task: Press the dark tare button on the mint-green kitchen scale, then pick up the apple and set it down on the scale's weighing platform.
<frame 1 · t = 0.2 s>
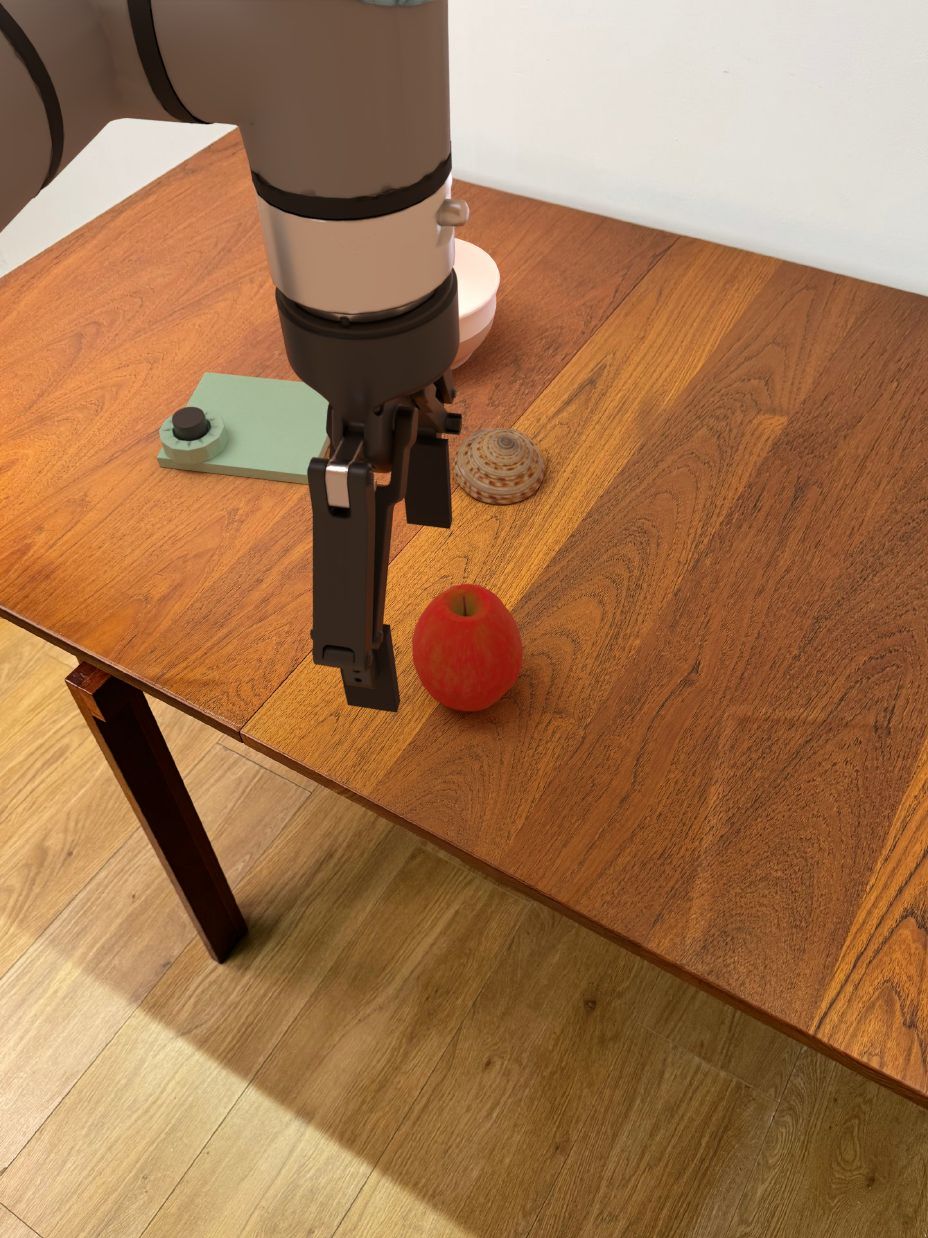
hand: (404, 606, 57), 19 cm above the table, tool pointing down, fingers open, 13 cm apart
apple: (469, 686, 77), on the table
seashell: (497, 473, 92), on the table
bowl: (423, 345, 105), on the table
scale: (257, 430, 97), on the table
tare button: (190, 424, 92), point 3 cm above the table, slide at 0.1 cm
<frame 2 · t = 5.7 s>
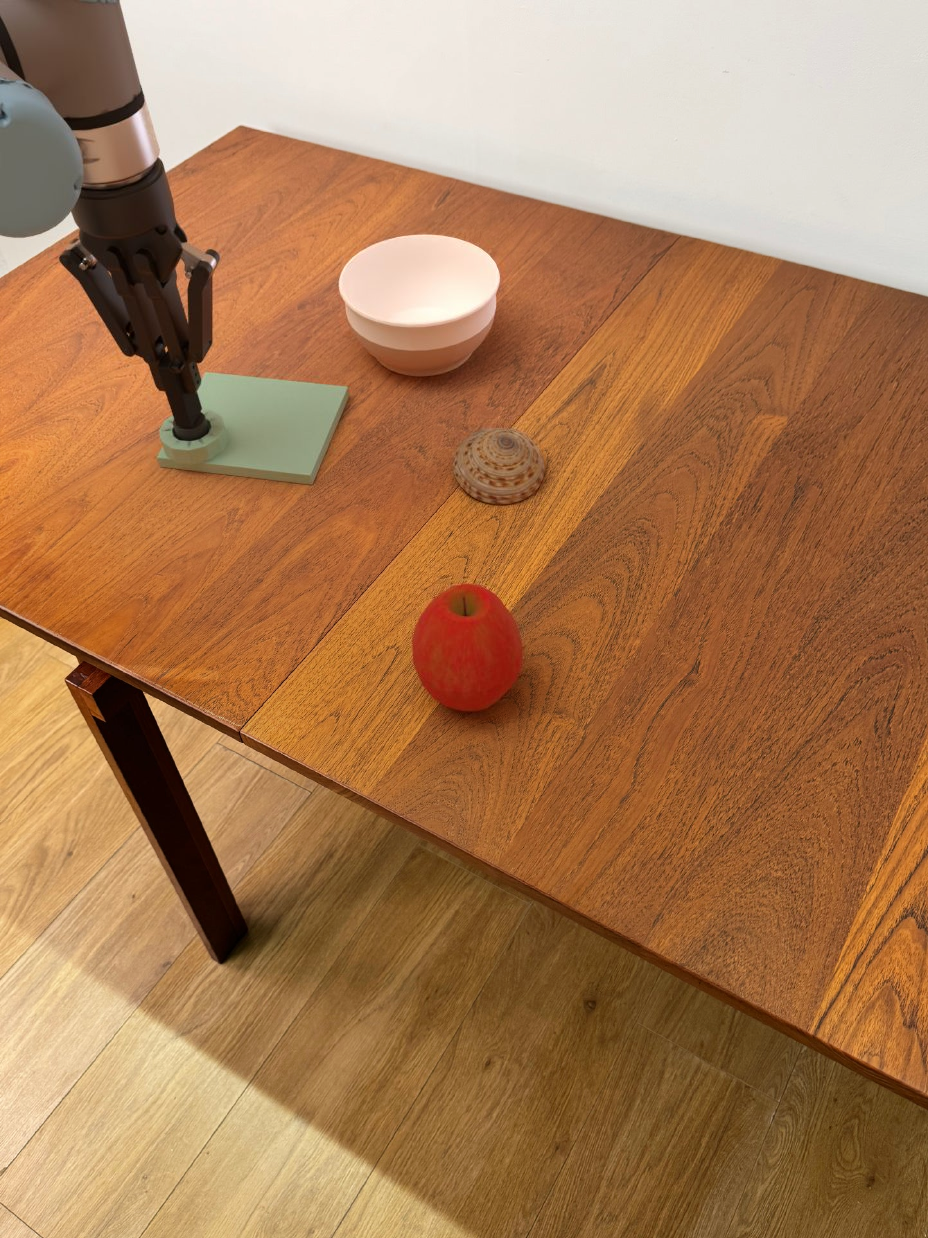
hand: (189, 417, 92), 4 cm above the table, tool pointing down, fingers closed
tare button: (191, 427, 92), point 3 cm above the table, slide at -0.3 cm, touching gripper
everything else where it was.
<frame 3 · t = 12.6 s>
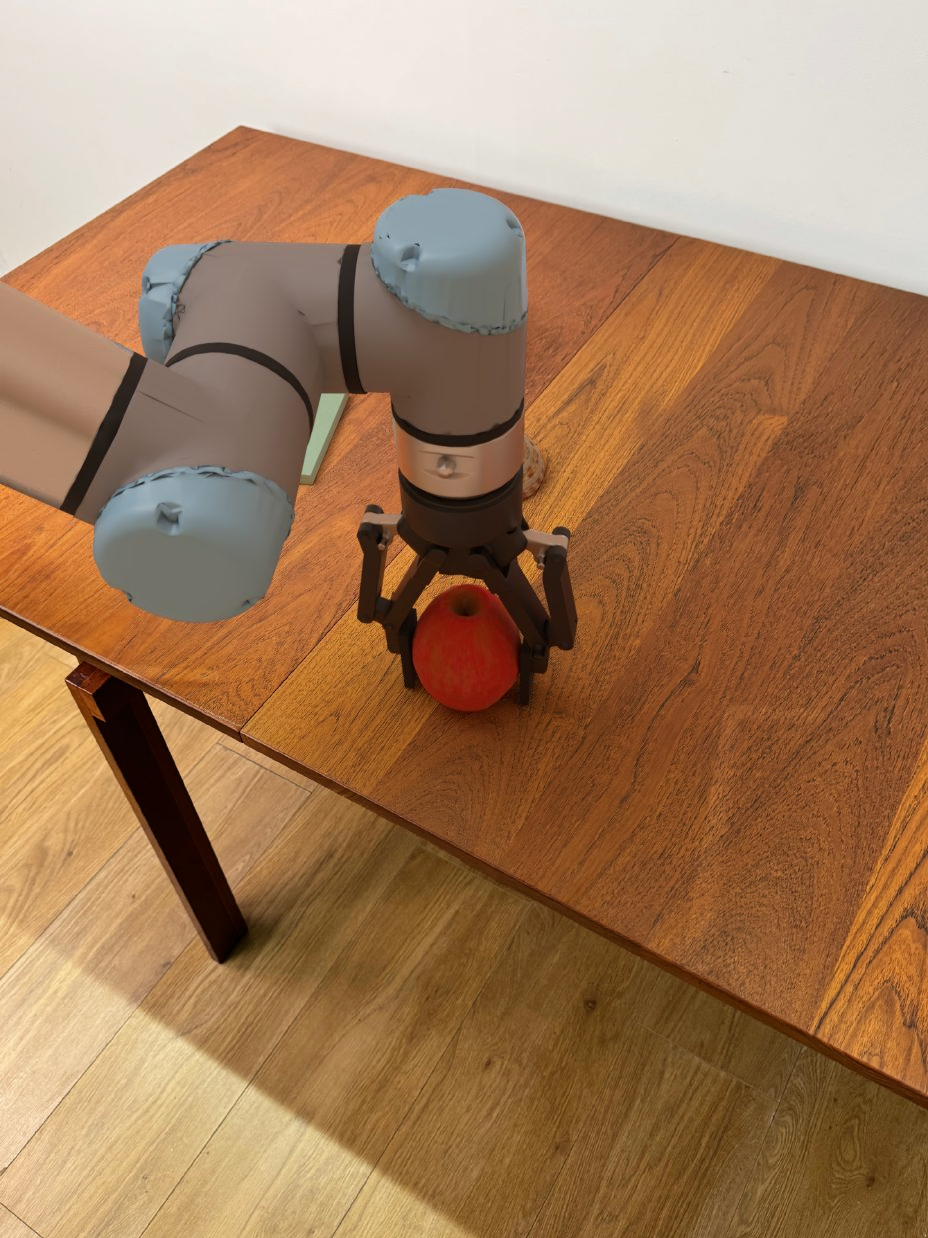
hand: (469, 682, 77), 0 cm above the table, tool pointing down, fingers closed on apple, 8 cm apart
apple: (469, 686, 77), on the table, touching gripper
tare button: (190, 424, 92), point 3 cm above the table, slide at 0.1 cm
everything else where it was.
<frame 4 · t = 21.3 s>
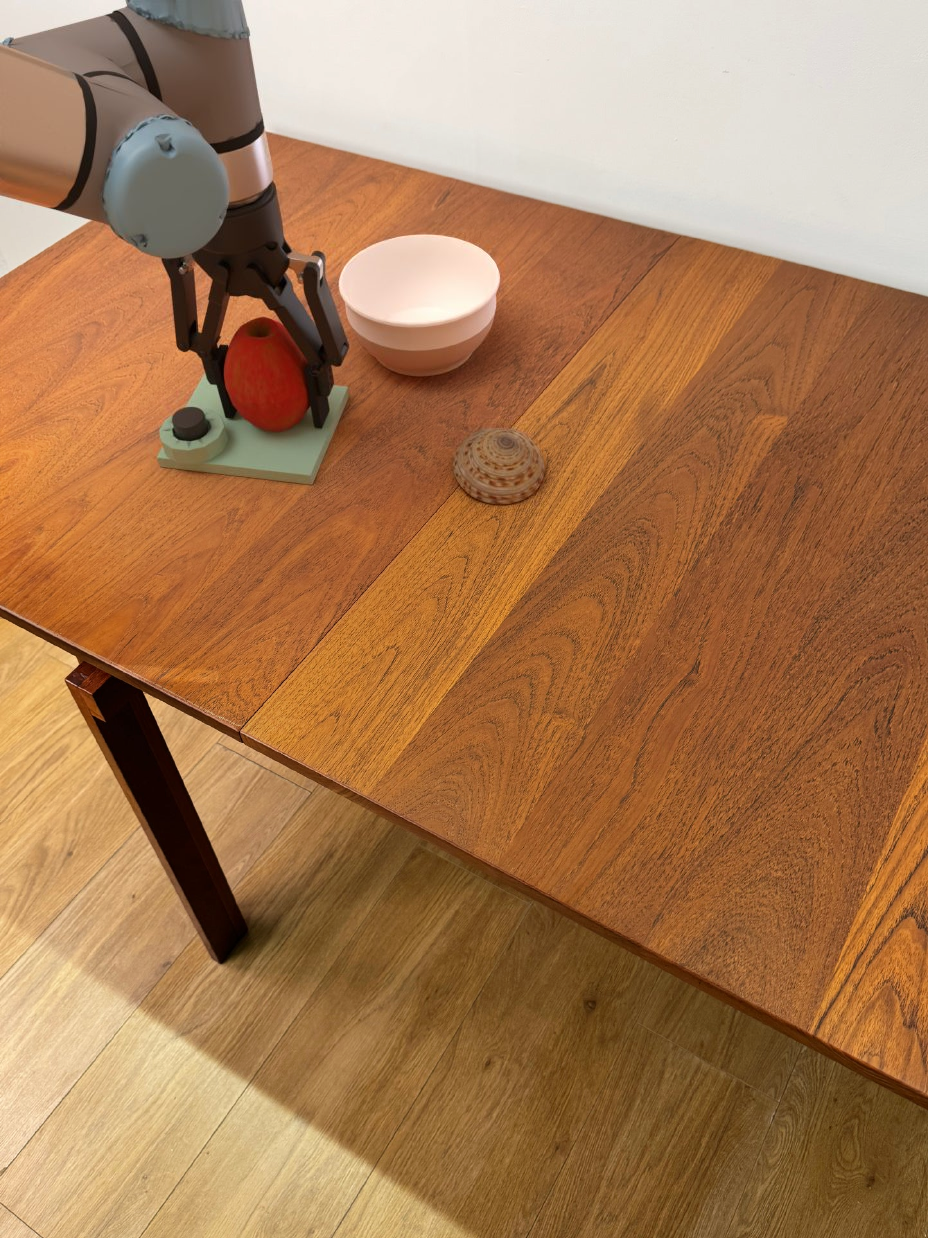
hand: (277, 413, 96), 1 cm above the table, tool pointing down, fingers closed on apple, 8 cm apart
apple: (278, 417, 96), point 1 cm above the table, touching gripper, scale
everything else where it was.
when the fingers open (1 cm above the table, at t = 21.5 s): apple stays where it is, resting on scale.
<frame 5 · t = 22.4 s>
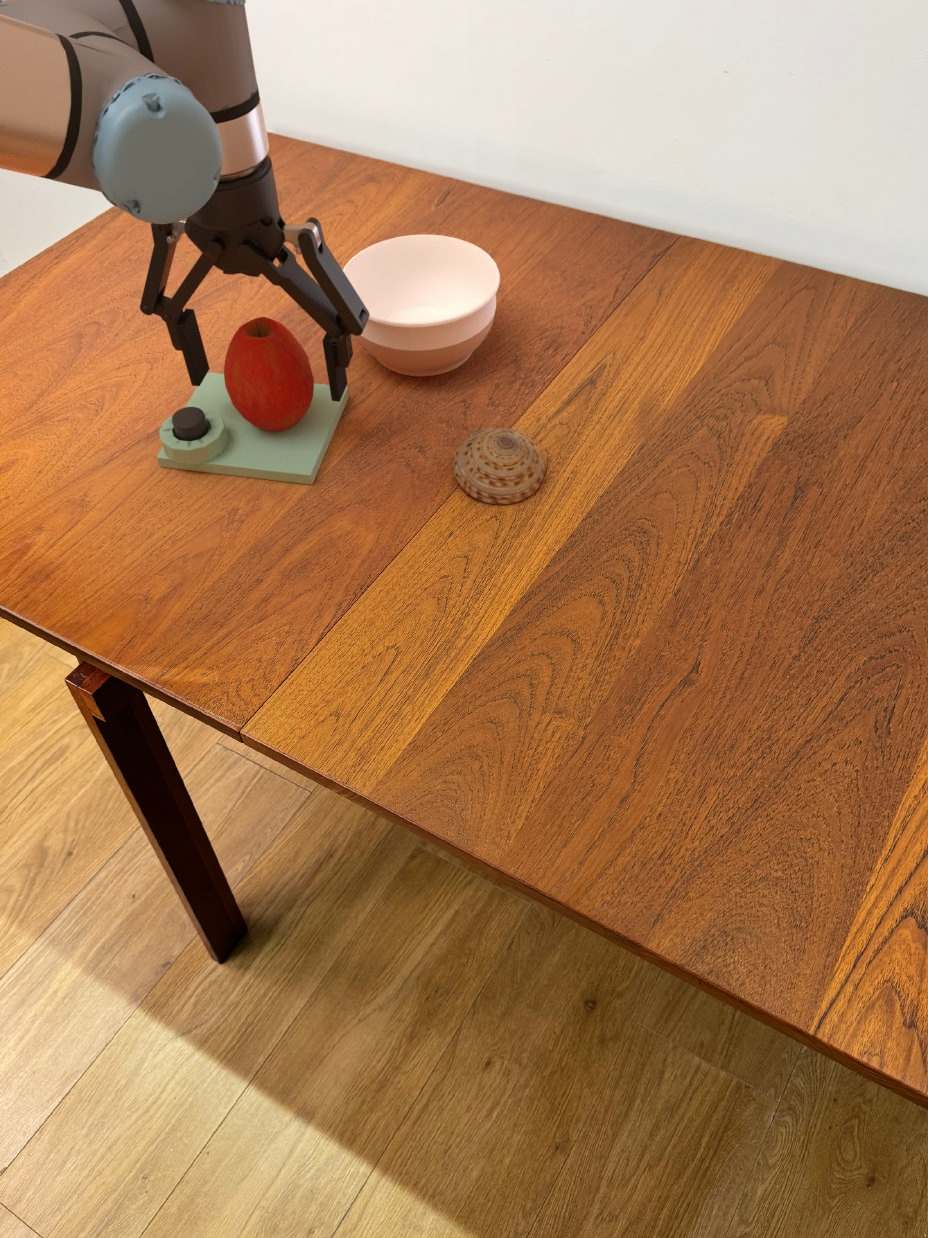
hand: (269, 384, 93), 5 cm above the table, tool pointing down, fingers open, 13 cm apart
apple: (278, 417, 96), point 1 cm above the table, touching scale
everything else where it was.
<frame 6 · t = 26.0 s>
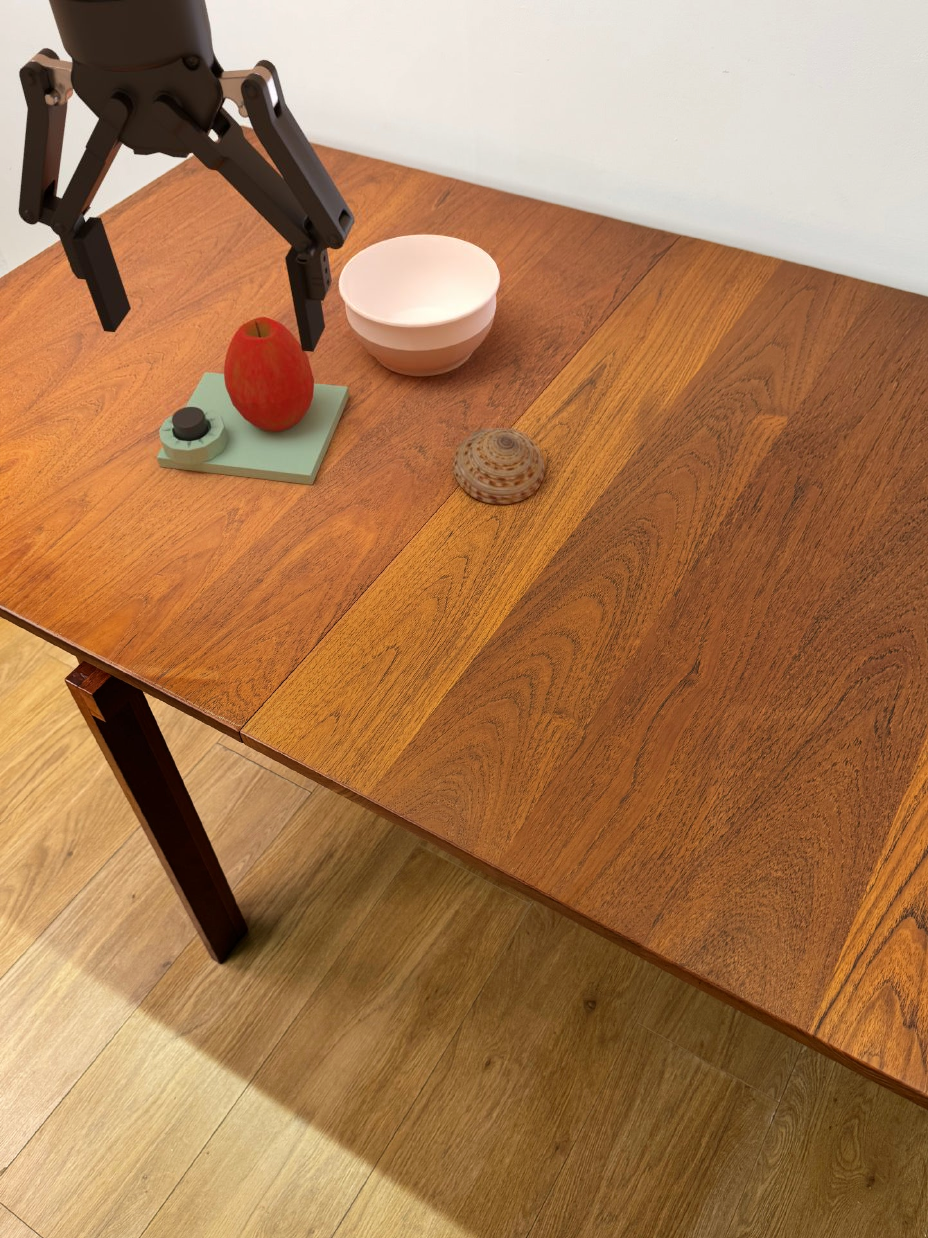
hand: (214, 329, 65), 25 cm above the table, tool pointing down, fingers open, 13 cm apart
nothing on the table moved.
at the end: tare button pushed in 1.0 cm at the most during the clip, back to where it started at the end; tare button slide at 0.1 cm; apple inside the target area on the scale (2.2 cm from its centre), point 1.0 cm above the scale's base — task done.
